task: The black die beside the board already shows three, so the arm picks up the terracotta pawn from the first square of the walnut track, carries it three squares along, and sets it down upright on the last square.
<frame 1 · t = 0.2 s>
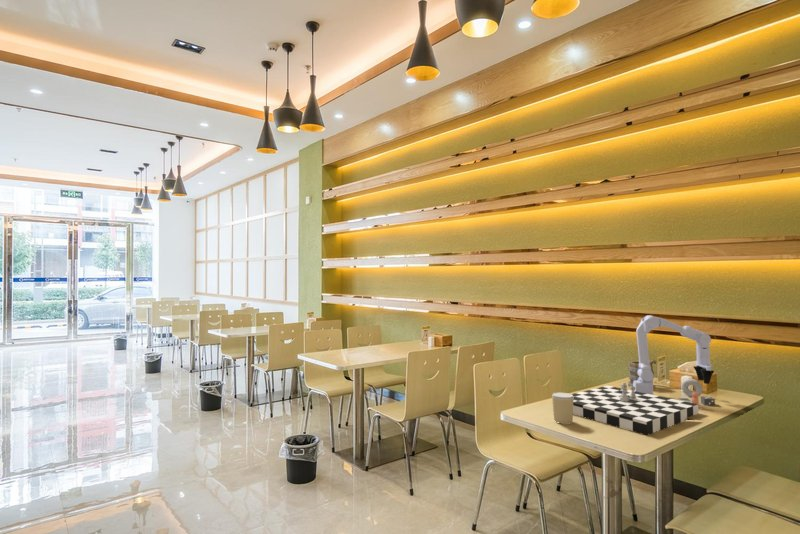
hand: (703, 381, 235), 10 cm above the table, tool pointing down, fingers open, 7 cm apart
pawn: (695, 407, 220), point 1 cm above the table, touching track board
coffee cup: (563, 422, 203), on the table
die: (707, 406, 225), on the table
track board: (689, 405, 227), on the table
checkerboard: (624, 414, 216), on the table
tankard: (644, 386, 269), on the table
donut: (692, 397, 243), on the table
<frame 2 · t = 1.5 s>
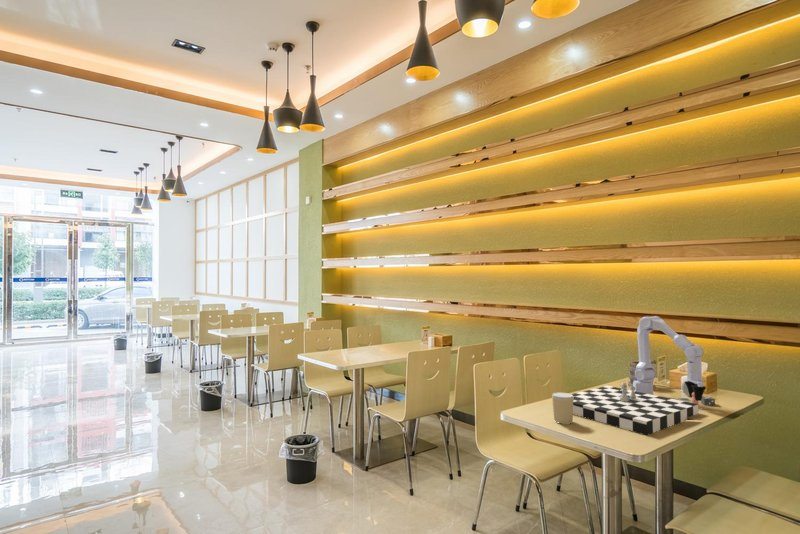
hand: (695, 398, 220), 5 cm above the table, tool pointing down, fingers open, 7 cm apart
nothing on the table moved.
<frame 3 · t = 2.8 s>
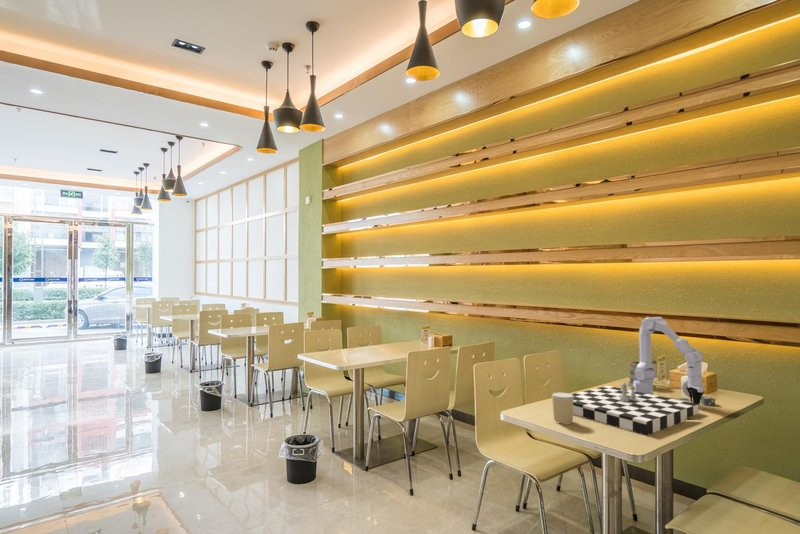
hand: (695, 403, 220), 3 cm above the table, tool pointing down, fingers closed on pawn, 3 cm apart
pawn: (695, 407, 220), point 1 cm above the table, touching gripper, track board
everything else where it was.
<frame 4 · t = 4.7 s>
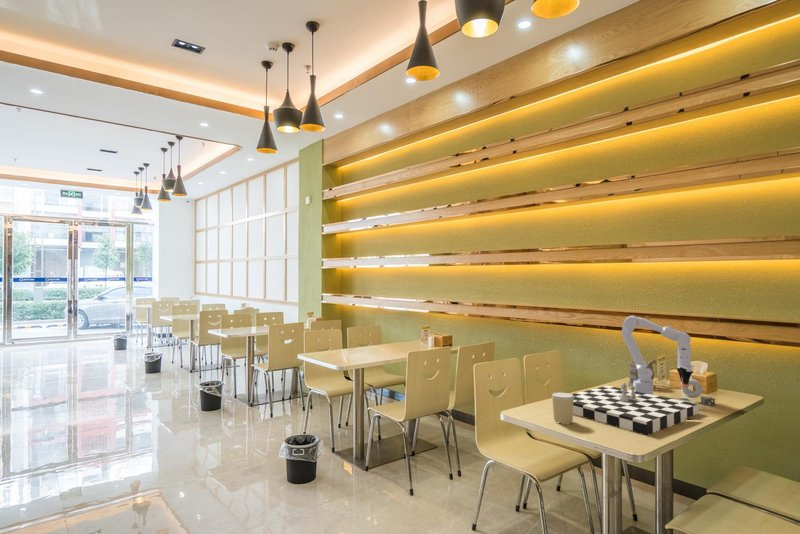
hand: (684, 383, 233), 10 cm above the table, tool pointing down, fingers closed on pawn, 3 cm apart
pawn: (684, 386, 233), point 8 cm above the table, touching gripper
everything else where it was.
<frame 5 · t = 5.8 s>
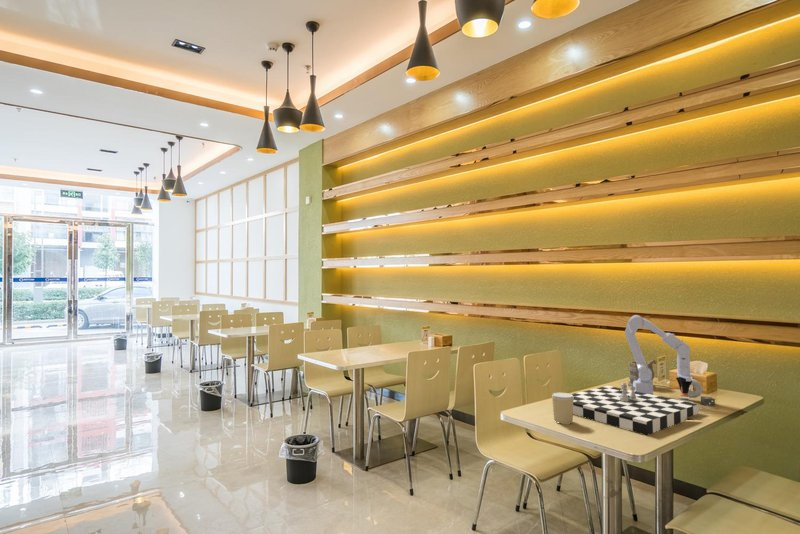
hand: (684, 392, 234), 5 cm above the table, tool pointing down, fingers closed on pawn, 3 cm apart
pawn: (684, 395, 234), point 3 cm above the table, touching gripper
everything else where it was.
when the fingers open (4 cm above the table, at t = 6.7 s): pawn drops 1 cm, resting on track board.
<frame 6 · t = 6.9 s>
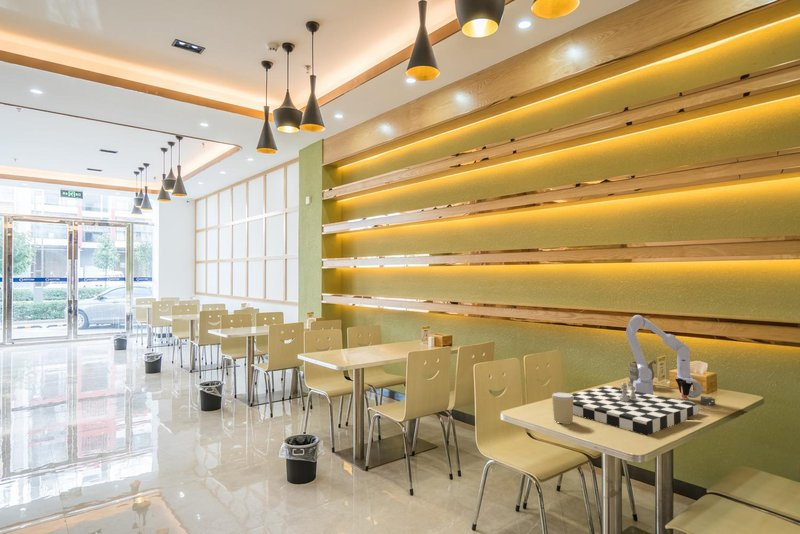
hand: (684, 394, 234), 4 cm above the table, tool pointing down, fingers open, 4 cm apart
pawn: (684, 399, 234), point 1 cm above the table, touching track board
everything else where it was.
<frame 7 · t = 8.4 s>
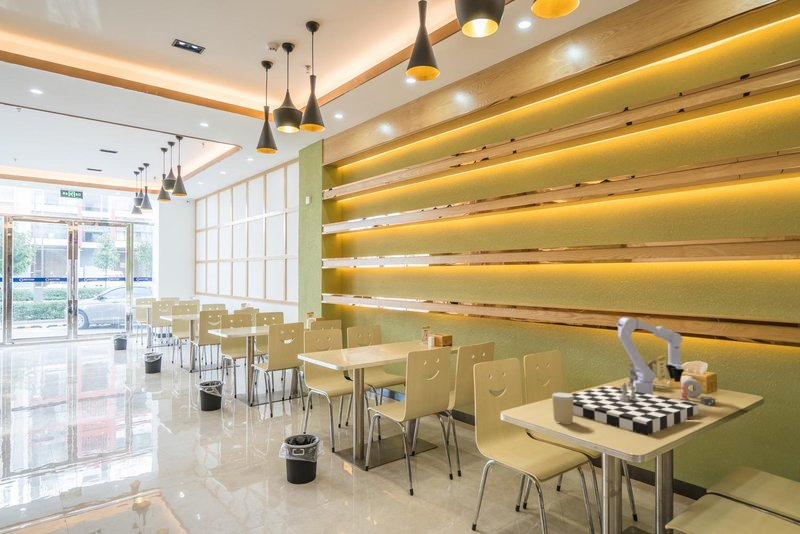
hand: (674, 380, 242), 9 cm above the table, tool pointing down, fingers open, 7 cm apart
nothing on the table moved.
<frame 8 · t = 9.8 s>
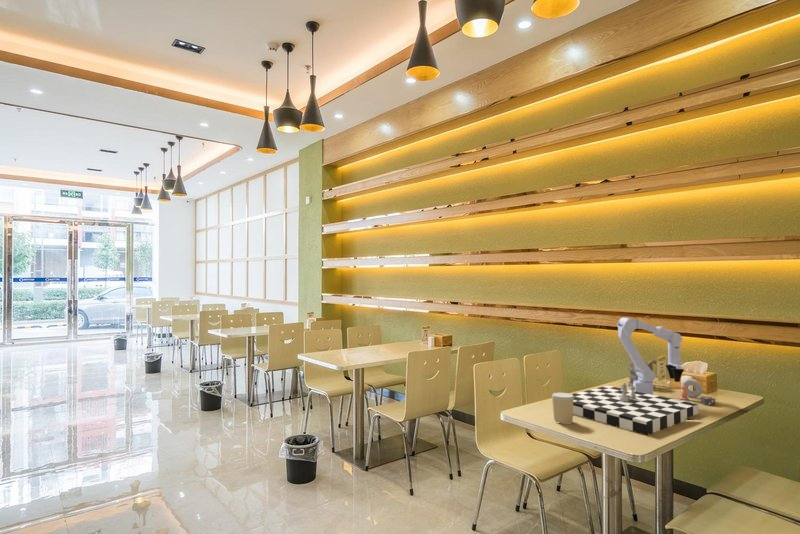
hand: (674, 380, 242), 9 cm above the table, tool pointing down, fingers open, 7 cm apart
nothing on the table moved.
at the end: pawn 0.1 cm from the target spot, point 1.2 cm above the table; pawn tilted 0°; the gripper is holding nothing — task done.
